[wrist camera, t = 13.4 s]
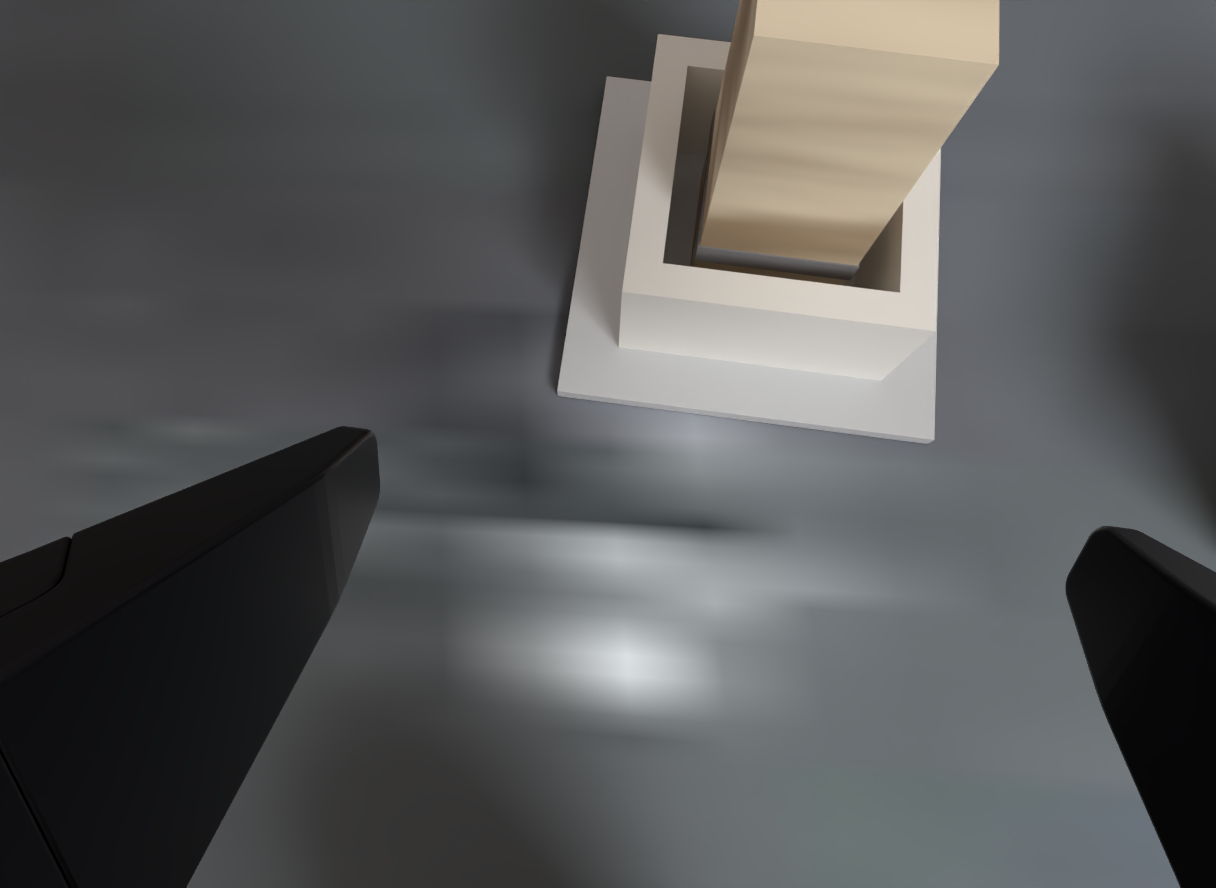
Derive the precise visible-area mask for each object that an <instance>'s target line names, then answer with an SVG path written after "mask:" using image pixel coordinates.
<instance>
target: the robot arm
mask: <svg viewBox="0 0 1216 888" xmlns="http://www.w3.org/2000/svg"><path fill="white" fill-rule="evenodd" d="M379 493H380V477H379V463H378V450H377V440H376V437H375V434H374V433H373V432H372V431H371V430H368V429H362V428H354V427H346V426H340V427H337V428H335V429H332V430H330V431H327V432H325V433H322V434H320V435H317V436H315V437H312V438H310V439H307V440H305V441H302V442H300V443H297V444H295V445H292V446H290V447H287V448H285V449H283V450H280V451H278V452H275V453H273V454H270V455H268V456H265V457H263V458H260V459H258V460H255V461H253V462H250V463H248V464H245V465H243V466H240V467H238V468H235V469H233V470H230V471H228V472H225V473H223V474H220V475H218V476H215V477H213V478H211V479H208V480H206V481H203V482H201V483H198V484H196V485H193V486H191V487H188V488H186V489H183V490H181V491H178V492H176V493H173V494H171V495H168V496H166V497H163V498H161V499H158V500H156V501H153V502H151V503H148V504H146V505H143V506H141V507H138V508H136V509H134V510H131V511H129V512H126V513H124V514H121V515H119V516H116V517H114V518H111V519H109V520H106V521H104V522H101V523H99V524H96V525H94V526H91V527H89V528H86V529H84V530H81V531H79V532H76V533H74V534H73V536H72V539H71V538H70V537H63V538H61V539H58V540H56V541H54V542H51V543H49V544H46V545H44V546H41V547H39V548H36V549H34V550H32V551H29V552H26V553H24V554H21V555H19V556H16V557H13V558H11V559H8V560H6V561H3V562H0V888H186V887H187V885H188V883H189V881H190V879H191V878H192V876H193V874H194V872H195V870H196V868H197V866H198V864H199V863H200V861H201V859H202V857H203V855H204V853H205V851H206V850H207V848H208V846H209V844H210V842H211V840H212V838H213V836H214V835H215V833H216V831H217V829H218V827H219V825H220V823H221V822H222V820H223V818H224V816H225V814H226V812H227V810H228V808H229V807H230V805H231V803H232V801H233V799H234V797H235V795H236V794H237V792H238V790H239V788H240V786H241V784H242V782H243V780H244V779H245V777H246V775H247V773H248V771H249V769H250V767H251V766H252V764H253V762H254V760H255V758H256V756H257V754H258V752H259V751H260V749H261V747H262V745H263V743H264V741H265V739H266V737H267V736H268V734H269V732H270V730H271V728H272V726H273V724H274V723H275V721H276V719H277V717H278V715H279V713H280V711H281V709H282V708H283V706H284V704H285V702H286V700H287V698H288V696H289V695H290V693H291V691H292V689H293V687H294V685H295V683H296V681H297V680H298V678H299V676H300V674H301V672H302V670H303V668H304V667H305V665H306V663H307V661H308V659H309V657H310V655H311V653H312V652H313V650H314V648H315V646H316V644H317V642H318V640H319V639H320V637H321V635H322V633H323V631H324V629H325V627H326V625H327V624H328V622H329V620H330V618H331V616H332V614H333V612H334V610H335V608H336V606H337V604H338V602H339V600H340V598H341V595H342V593H343V590H344V588H345V586H346V583H347V581H348V578H349V575H350V573H351V570H352V568H353V565H354V562H355V560H356V557H357V555H358V552H359V549H360V547H361V544H362V542H363V539H364V536H365V534H366V531H367V529H368V526H369V524H370V521H371V518H372V516H373V513H374V511H375V508H376V505H377V502H378V499H379ZM1066 596H1067V600H1068V603H1069V606H1070V610H1071V613H1072V616H1073V619H1074V622H1075V625H1076V629H1077V632H1078V635H1079V638H1080V641H1081V645H1082V648H1083V651H1084V654H1085V657H1086V660H1087V664H1088V667H1089V670H1090V673H1091V676H1092V679H1093V683H1094V686H1095V689H1096V692H1097V694H1098V697H1099V700H1100V703H1101V706H1102V708H1103V711H1104V713H1105V716H1106V718H1107V721H1108V723H1109V725H1110V728H1111V730H1112V732H1113V735H1114V737H1115V739H1116V741H1117V744H1118V746H1119V748H1120V751H1121V753H1122V755H1123V757H1124V760H1125V762H1126V764H1127V767H1128V769H1129V771H1130V773H1131V776H1132V778H1133V780H1134V783H1135V785H1136V787H1137V789H1138V792H1139V794H1140V796H1141V799H1142V801H1143V803H1144V805H1145V808H1146V810H1147V812H1148V815H1149V817H1150V819H1151V821H1152V824H1153V826H1154V828H1155V831H1156V833H1157V835H1158V837H1159V840H1160V842H1161V844H1162V847H1163V849H1164V851H1165V853H1166V856H1167V858H1168V860H1169V863H1170V865H1171V867H1172V869H1173V872H1174V874H1175V876H1176V879H1177V881H1178V883H1179V885H1180V888H1216V572H1214V571H1212V570H1210V569H1208V568H1207V567H1205V566H1203V565H1201V564H1199V563H1197V562H1196V561H1194V560H1192V559H1190V558H1188V557H1186V556H1184V555H1183V554H1181V553H1179V552H1177V551H1175V550H1173V549H1171V548H1170V547H1168V546H1166V545H1164V544H1162V543H1160V542H1159V541H1157V540H1155V539H1153V538H1151V537H1149V536H1147V535H1146V534H1144V533H1142V532H1140V531H1137V530H1133V529H1127V528H1119V527H1112V526H1102V527H1099V528H1097V529H1096V530H1094V531H1093V532H1092V533H1091V535H1090V536H1089V538H1088V540H1087V542H1086V543H1085V545H1084V547H1083V549H1082V551H1081V553H1080V554H1079V556H1078V558H1077V560H1076V562H1075V563H1074V565H1073V567H1072V569H1071V571H1070V572H1069V574H1068V577H1067V580H1066Z"/></svg>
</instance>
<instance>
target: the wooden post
mask: <svg viewBox="0 0 1216 888" xmlns="http://www.w3.org/2000/svg"><path fill="white" fill-rule="evenodd" d="M998 65H999V0H740V3H739V8H738V12H737V17H736V21H735V26H734V30H733V35H732V39H731V44H730V49H729V53H728V58H727V62H726V67H725V71H724V76H723V80H722V85H721V89H720V94H719V99H718V103H717V108H716V110H714V113H713V118H712V122H711V127H710V134H709V143H708V149H707V153H706V158H705V162H704V167H703V171H702V176H701V181H700V189H699V198H698V206H697V215H696V223H695V231H694V240H693V248H692V256H691V265H690V267H698V268H706V269H714V270H722V271H730V272H738V273H746V274H754V275H762V276H770V277H778V278H786V279H794V280H802V281H810V282H818V283H826V284H834V285H842V286H844V284H845V283H846V282H847V280H849V281H850V280H851V278H852V277H853V276H854V274H855V273H856V271H857V270H858V269H859V264H860V262H861V260H862V259H863V257H864V256H865V254H866V253H867V252H868V250H869V249H870V247H871V246H872V245H873V243H874V242H875V240H876V239H877V237H878V236H879V235H880V233H881V232H882V230H883V229H884V227H885V226H886V225H887V223H888V222H889V220H890V219H891V217H892V216H893V215H894V213H895V212H896V210H897V209H898V208H899V206H900V205H901V203H902V202H903V200H904V199H905V198H906V196H907V195H908V193H909V192H910V190H911V189H912V188H913V186H914V185H915V183H916V182H917V181H918V179H919V178H920V176H921V175H922V173H923V172H924V171H925V169H926V168H927V166H928V165H929V163H930V162H931V161H932V159H933V158H934V156H935V155H936V153H937V152H938V151H939V149H940V148H941V146H942V145H943V144H944V142H945V141H946V139H947V138H948V136H949V135H950V134H951V132H952V131H953V129H954V128H955V126H956V125H957V124H958V122H959V121H960V119H961V118H962V116H963V115H964V114H965V112H966V111H967V109H968V108H969V107H970V105H971V104H972V102H973V101H974V99H975V98H976V97H977V95H978V94H979V92H980V91H981V89H982V88H983V87H984V85H985V84H986V82H987V81H988V80H989V78H990V77H991V75H992V74H993V72H994V71H995V70H996V68H997V67H998Z"/></svg>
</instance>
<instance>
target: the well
mask: <svg viewBox="0 0 1216 888" xmlns="http://www.w3.org/2000/svg"><path fill="white" fill-rule="evenodd" d="M730 44H731V42H722V41H714V40H705V39H697V38H688V37H680V36H671V35H663V34H658V38H657V45H656V52H655V59H654V66H653V74H652V81H642V80H634V79H625V78H617V77H608V76H607V79H606V85H605V92H604V98H603V104H602V111H601V117H600V123H599V130H598V136H597V142H596V149H595V155H594V161H593V168H592V174H591V180H590V187H589V193H588V199H587V206H586V212H585V218H584V224H583V231H582V237H581V243H580V250H579V256H578V262H577V269H576V275H575V281H574V288H573V294H572V300H571V307H570V313H569V319H568V326H567V332H566V338H565V345H564V351H563V357H562V364H561V370H560V376H559V383H558V389H557V393H558V396H562V397H570V398H578V399H585V400H593V401H601V402H609V403H616V404H624V405H632V406H639V407H647V408H655V409H663V410H670V411H678V412H686V413H693V414H701V415H709V416H716V417H724V418H732V419H740V420H747V421H755V422H763V423H770V424H778V425H786V426H794V427H801V428H809V429H817V430H824V431H832V432H840V433H848V434H855V435H863V436H871V437H878V438H886V439H894V440H902V441H909V442H917V443H925V444H928V443H930V442H931V441H933V440H934V427H935V384H936V341H937V297H938V254H939V211H940V167H941V148H940V149H939V151H938V152H937V153H936V155H935V156H934V158H933V159H932V161H931V162H930V163H929V165H928V166H927V168H926V169H925V171H924V172H923V173H922V175H921V176H920V178H919V179H918V181H917V182H916V183H915V185H914V186H913V188H912V189H911V190H910V192H909V193H908V195H907V196H906V198H905V199H904V200H903V202H902V203H901V205H900V206H899V208H898V209H897V210H896V212H895V213H894V215H893V216H892V217H891V219H890V220H889V222H888V223H887V225H886V226H885V227H884V229H883V230H882V232H881V233H880V235H879V236H878V237H877V239H876V240H875V242H874V243H873V245H872V246H871V247H870V249H869V250H868V252H867V253H866V254H865V256H864V257H863V259H862V260H861V262H860V264H859V269H858V270H857V271H856V273H855V274H854V276H853V277H852V278H851V280H850V281H849V280H847V282H846V283H845V284H844V286H842V285H834V284H826V283H818V282H810V281H802V280H794V279H786V278H778V277H770V276H762V275H754V274H746V273H738V272H730V271H722V270H714V269H706V268H698V267H690V265H691V256H692V248H693V240H694V231H695V223H696V215H697V206H698V198H699V189H700V181H701V176H702V171H703V167H704V162H705V158H706V153H707V149H708V143H709V134H710V127H711V122H712V118H713V113H714V110H716V108H717V103H718V99H719V94H720V89H721V85H722V80H723V76H724V71H725V67H726V62H727V58H728V53H729V49H730Z"/></svg>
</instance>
